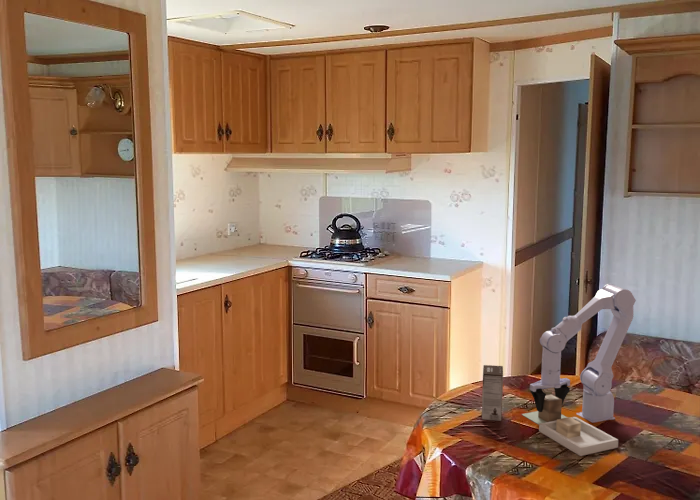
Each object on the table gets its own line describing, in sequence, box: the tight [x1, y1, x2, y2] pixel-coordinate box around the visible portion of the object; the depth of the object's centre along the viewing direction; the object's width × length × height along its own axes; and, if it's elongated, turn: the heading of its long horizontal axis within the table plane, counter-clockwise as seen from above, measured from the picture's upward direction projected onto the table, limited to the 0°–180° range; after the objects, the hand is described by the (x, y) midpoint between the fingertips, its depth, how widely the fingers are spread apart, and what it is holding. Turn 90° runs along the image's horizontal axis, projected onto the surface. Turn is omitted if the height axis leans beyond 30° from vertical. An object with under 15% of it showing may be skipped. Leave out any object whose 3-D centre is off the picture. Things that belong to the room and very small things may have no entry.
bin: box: [538, 416, 619, 457], centre depth 198 cm, size 14×18×3 cm
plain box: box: [556, 416, 581, 438], centre depth 201 cm, size 5×5×4 cm
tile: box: [521, 410, 568, 426], centre depth 213 cm, size 12×12×1 cm
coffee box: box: [481, 364, 504, 422], centre depth 215 cm, size 9×6×16 cm
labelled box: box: [538, 393, 563, 422], centre depth 212 cm, size 5×5×7 cm
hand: (549, 409), depth 212 cm, fingers open, 7 cm apart
